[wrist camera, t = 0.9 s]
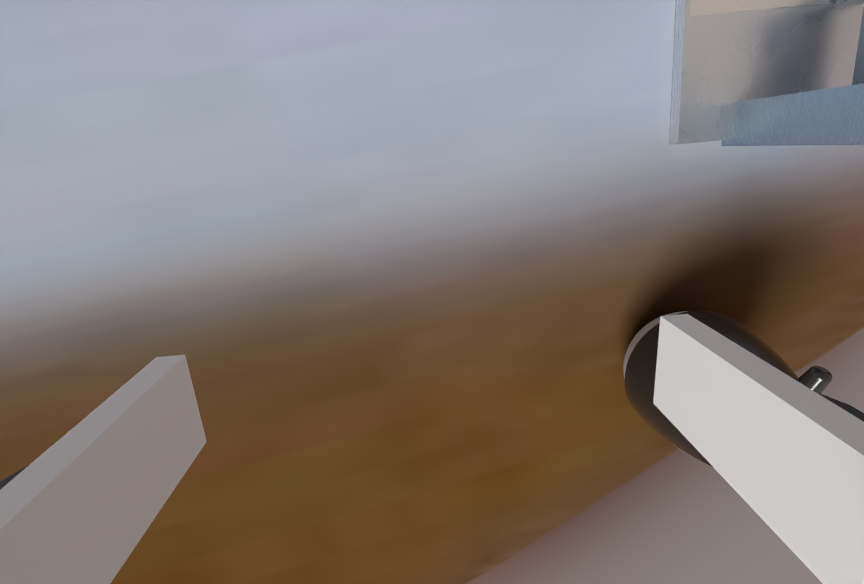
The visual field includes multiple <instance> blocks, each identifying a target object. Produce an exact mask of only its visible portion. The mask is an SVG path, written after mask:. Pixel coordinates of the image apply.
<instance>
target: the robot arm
mask: <svg viewBox="0 0 864 584" xmlns="http://www.w3.org/2000/svg"><path fill="white" fill-rule="evenodd" d="M653 404H654V405H655V406H656V407H657V408H658V409H659V410H660V411H661V412H662V413H663V414H664V415H665V416H666V417H667V418H668V419H669V421H670V422H671V423H672V424H673V425H674V426H675V427H676V428H677V429H678V430H679V431H680V432H681V433H682V434H683V435H684V436H685V438H686V439H687V440H688V441H689V442H690V443H691V444H692V445H693V446H694V447H695V448H696V449H697V450H698V451H699V452H700V453H701V455H702V456H703V457H704V458H705V459H706V460H707V461H708V462H709V463H710V464H711V465H712V466H713V467H714V468H715V469H716V470H717V472H718V473H719V474H720V475H721V476H722V477H723V478H724V479H725V480H726V481H727V482H728V483H729V484H730V485H731V486H732V487H733V489H734V490H735V491H736V492H737V493H738V494H739V495H740V496H741V497H742V498H743V499H744V500H745V501H746V502H747V503H748V504H749V506H750V507H751V508H752V509H753V510H754V511H755V512H756V513H757V514H758V515H759V516H760V517H761V518H762V519H763V520H764V522H766V524H767V525H768V526H769V527H770V528H771V529H772V530H773V531H774V532H775V533H776V534H777V535H778V536H779V537H780V538H781V540H782V541H783V542H784V543H785V544H786V545H787V546H788V547H789V548H790V549H791V550H792V551H793V552H794V553H795V554H796V556H797V557H798V558H799V559H800V560H801V561H802V562H803V563H804V564H805V565H806V566H807V567H808V568H809V569H810V570H811V571H812V572H813V573H814V575H816V577H817V578H818V579H819V580H820V581H821V582H822V583H823V584H864V413H862V412H861V411H859V410H857V409H855V408H854V407H852V406H850V405H848V404H846V403H843V402H840V401H838V400H835V399H833V398H830V397H827V396H825V395H822V394H820V393H819V394H818V393H816V392H814V391H813V390H811V389H809V388H808V387H806V386H804V385H803V384H801V383H800V382H798V381H796V380H795V379H793V378H791V377H790V376H788V375H786V374H785V373H783V372H782V371H780V370H778V369H777V368H775V367H773V366H772V365H770V364H769V363H767V362H765V361H764V360H762V359H760V358H759V357H757V356H755V355H754V354H752V353H751V352H749V351H747V350H746V349H744V348H742V347H741V346H739V345H737V344H736V343H734V342H733V341H731V340H729V339H728V338H726V337H724V336H723V335H721V334H719V333H718V332H716V331H715V330H713V329H711V328H710V327H708V326H706V325H705V324H703V323H702V322H700V321H698V320H697V319H695V318H693V317H692V316H690V315H688V314H680V315H668V316H660V327H659V339H658V351H657V363H656V375H655V388H654V400H653ZM205 443H206V438H205V434H204V430H203V426H202V422H201V418H200V414H199V410H198V405H197V401H196V397H195V393H194V389H193V385H192V381H191V377H190V373H189V369H188V365H187V361H186V357H185V355H178V356H165V357H156V358H155V359H154V360H153V361H151V362H150V363H149V364H148V365H147V366H146V367H144V368H143V369H142V370H141V371H140V372H138V373H137V374H136V375H135V376H134V377H133V378H131V379H130V380H129V381H128V382H127V383H126V384H124V385H123V386H122V387H121V388H120V389H118V390H117V391H116V392H115V393H114V394H113V395H111V396H110V397H109V398H108V399H107V400H105V401H104V402H103V403H102V404H101V405H100V406H98V407H97V408H96V409H95V410H94V411H92V412H91V413H90V414H89V415H88V416H87V417H85V418H84V419H83V420H82V421H81V422H80V423H78V424H77V425H76V426H75V427H74V428H72V429H71V430H70V431H69V432H68V433H67V434H65V435H64V436H63V437H62V438H61V439H59V440H58V441H57V442H56V443H55V444H54V445H52V446H51V447H50V448H49V449H48V450H46V451H45V452H44V453H43V454H42V455H41V456H39V457H38V458H37V459H36V460H35V461H33V462H32V463H31V464H30V465H28V466H26V467H25V468H23V469H21V470H19V471H18V472H16V473H14V474H13V475H11V476H9V477H7V478H6V479H4V480H2V481H1V482H0V584H110V583H111V582H112V580H113V579H114V577H115V576H116V574H117V573H118V571H119V570H120V568H121V567H122V565H123V564H124V562H125V561H126V560H127V558H128V557H129V555H130V554H131V552H132V551H133V549H134V548H135V546H136V545H137V543H138V542H139V540H140V539H141V537H142V536H143V534H144V533H145V532H146V530H147V529H148V527H149V526H150V524H151V523H152V521H153V520H154V518H155V517H156V515H157V514H158V512H159V511H160V509H161V508H162V506H163V505H164V503H165V502H166V501H167V499H168V498H169V496H170V495H171V493H172V492H173V490H174V489H175V487H176V486H177V484H178V483H179V481H180V480H181V478H182V477H183V475H184V474H185V473H186V471H187V470H188V468H189V467H190V465H191V464H192V462H193V461H194V459H195V458H196V456H197V455H198V453H199V452H200V450H201V449H202V447H203V446H204V445H205Z"/></svg>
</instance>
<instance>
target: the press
mask: <svg viewBox="0 0 864 584" xmlns="http://www.w3.org/2000/svg"><path fill="white" fill-rule="evenodd" d="M716 140H722V146H776V145H864V0H676V15H675V36H674V58H673V79H672V100H671V122H670V143H669V145H670V144H686V143H696V142H706V141H716Z"/></svg>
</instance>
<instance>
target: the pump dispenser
mask: <svg viewBox="0 0 864 584" xmlns="http://www.w3.org/2000/svg"><path fill="white" fill-rule="evenodd" d="M680 314H688V315H690V316H692V317H693V318H695V319H697V320H698V321H700V322H702V323H703V324H705V325H706V326H708V327H710V328H711V329H713V330H715V331H716V332H718V333H719V334H721V335H723V336H724V337H726V338H728V339H729V340H731V341H733V342H734V343H736V344H737V345H739V346H741V347H742V348H744V349H746V350H747V351H749V352H751V353H752V354H754V355H755V356H757V357H759V358H760V359H762V360H764V361H765V362H767V363H769V364H770V365H772V366H773V367H775V368H777V369H778V370H780V371H782V372H783V373H785V374H786V375H788V376H790V377H791V378H793V379H795V380H796V381H798V382H800V383H801V384H803V385H804V386H806V387H808V388H809V389H811V390H813V391H814V392H816V393H818V394H819V393H820V394H821V392H822V391H823V390H824V389H825V388H826V386H827V385H828V384H829V383H830V382H831V380H832V375H831V373H830V372H829V371H828V370H826V369H825V368H822V367H819V366H813V367H811V368H810V369H809V370H807V371H806V372H805V373H804V374H803V375H802V376H800V377H798V376H797V375H796V373H795V372H794V371H793V370H792V369H791V367H790V366H789V365H788V364H787V363H786V362H785V361H784V360H783V359H782V357H781V356H780V355H779V354H778V353H777V352H775V351H774V350H773V349H772V348H771V347H770V346H769V345H768V344H767V343H765V342H764V341H763V340H762V339H761V338H759V337H758V336H757V335H756V334H754V333H753V332H752V331H750V330H749V329H748V328H746V327H745V326H743V325H742V324H740V323H739V322H737V321H735V320H733V319H732V318H730V317H728V316H725V315H723V314H720V313H716V312H712V311H702V310H700V311H682V312H675V313H670V314H667V315H664V316H668V315H680ZM659 327H660V317H659V318H657V319H655V320H653V321H651V322H650V323H648V324H647V325H645V326H644V327H643V328H642V329H641V330H640V331H639V332H638V333H637V334H636V335H635V337H634V338H633V339H632V341H631V343H630V344H629V346H628V349H627V351H626V354H625V359H624V380H625V390H626V394H627V397H628V399H629V402H630V404H631V405H632V407H633V408H634V410H635V411H636V412H637V413H638V415H639V416H640V417H641V418H642V419H643V420H644V421H645V422H646V423H647V424H648V425H649V426H650V427H652V428H653V429H654V430H655V431H656V432H658V433H659V434H660V435H661V436H663V437H664V438H665V439H667V440H668V441H669V442H671V443H672V444H673V445H675V446H676V447H678V448H679V449H681V450H682V451H684V452H685V453H687V454H689V455H690V456H692V457H694V458H695V459H697V460H699V461H701V462H703V463H705V464H707V465H709V466H711V467H713V466H712V465H711V464H710V463H709V462H708V461H707V460H706V459H705V458H704V457H703V456H702V455H701V453H700V452H699V451H698V450H697V449H696V448H695V447H694V446H693V445H692V444H691V443H690V442H689V441H688V440H687V439H686V438H685V436H684V435H683V434H682V433H681V432H680V431H679V430H678V429H677V428H676V427H675V426H674V425H673V424H672V423H671V422H670V421H669V419H668V418H667V417H666V416H665V415H664V414H663V413H662V412H661V411H660V410H659V409H658V408H657V407H656V406H655V405H654V404H653V400H654V388H655V375H656V363H657V351H658V339H659ZM713 468H714V467H713Z"/></svg>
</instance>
